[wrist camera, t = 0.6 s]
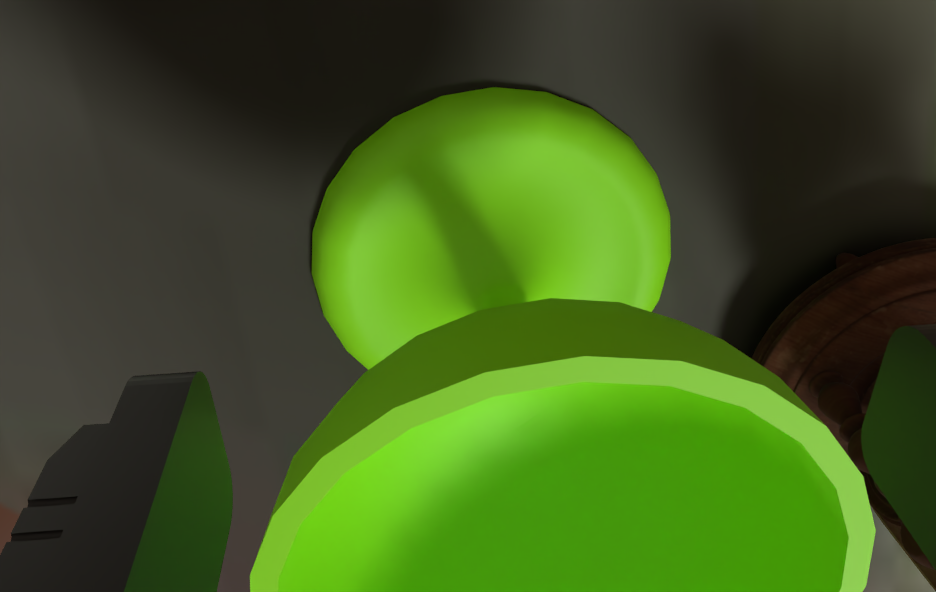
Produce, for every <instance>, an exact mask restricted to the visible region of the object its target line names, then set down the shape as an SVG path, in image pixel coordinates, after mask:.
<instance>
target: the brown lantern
mask: <svg viewBox="0 0 936 592" xmlns="http://www.w3.org/2000/svg"><path fill="white" fill-rule="evenodd" d="M836 268H837V269H835V270H834V271H832V272H830V273H829V274H827V275H826V276H824V277H822V278H821V279H820V280H818V281H817V282H815V283H814V284H813V285H811V286H810V287H809V288H807V289H806V290H805V291H804V292H803V293H801V294H800V295H799V296H798V297H797V298H796V299H794V300H793V301H792V302H791V303H790V304H789V305H788V306H787V307H786V308H785V309H784V310H783V312H782V313H781V314H780V315H779V316H778V317H777V319H776V320H775V321H774V322H773V323H772V325H771V326H770V327H769V329H768V330H767V332H766V333H765V334H764V336H763V338H762V339H761V341H760V343H759V344H758V346H757V348H756V350H755V352H754V354H753V356H752V358H751V359H753V360H754V361H756V362H757V363H759V364H760V365H762V366H763V367H765V368H766V369H768V370H769V371H771V372H772V373H774V374H775V375H777V376H778V377H780V378H781V379H782V380H783V381H784V383H785V384H786V385H787V386H788V387H789V388H790V389H791V390H792V391H793V392H794V393H795V394H796V395H797V396H798V397H799V398H800V399H801V400H802V401H803V402H804V403H805V404H806V405H807V406H808V408H809V409H810V410H811V411H812V412H813V413H814V414H815V415H816V416H817V417H818V418H819V419H820V420H821V421H822V422H823V423H824V424H825V425H826V426H827V428H828V429H829V430H830V432H831V433H832V435H833V436H834V437H835V439H836V440H837V441H838V443H839V444H840V445H841V447H842V448H843V449H844V451H845V452H846V454H847V455H848V456H849V458H850V459H851V460H852V462H853V463H854V464H855V466H856V467H857V468H858V470H859V471H860V473H861V474H862V475H863V477H864V482H865V486H866V490H867V495H868V499H869V503H870V505H871V506H872V508H873V510H874V511H875V513H876V514H877V516H878V517H879V518H880V520H881V521H882V523H883V524H884V525H885V527H886V528H887V529H888V530H889V532H890V533H891V534H892V536H893V537H894V538H895V540H896V541H897V542H898V543H899V545H900V546H901V547H902V549H903V550H904V551H905V553H906V554H907V555H908V556H909V558H910V559H911V560H912V562H913V563H914V564H915V565H916V567H917V568H918V569H919V571H920V572H921V573H922V575H923V576H924V577H925V578H926V580H927V581H928V582H929V583H930V585H931V586H932V587H933V588H934V590H935V591H936V570H935V569H934V567H933V566H932V564H931V563H930V561H929V560H928V558H927V557H926V556H925V554H924V553H923V551H922V550H921V548H920V547H919V545H918V544H917V542H916V541H915V539H914V538H913V537H912V535H911V534H910V532H909V531H908V529H907V528H906V526H905V525H904V523H903V522H902V520H901V519H900V518H899V516H898V515H897V513H896V512H895V510H894V509H893V507H892V506H891V504H890V503H889V501H888V500H887V499H886V497H885V496H884V494H883V493H882V491H881V490H880V488H879V487H878V485H877V484H876V482H875V481H874V480H873V478H872V476H871V475H870V473H869V470H868V468H867V466H866V463H865V460H864V456H863V451H862V443H861V433H862V426H863V422H864V418H865V415H866V412H867V409H868V406H869V402H870V399H871V396H872V393H873V389H874V386H875V383H876V380H877V377H878V373H879V370H880V367H881V364H882V360H883V357H884V354H885V351H886V348H887V344H888V342H889V339H890V337H891V336H892V334H893V333H894V332H895V331H896V330H897V329H898V328H900V327H903V326H912V325H927V324H936V238H928V239H919V240H913V241H908V242H903V243H899V244H895V245H892V246H888V247H884V248H881V249H879V250H876V251H873V252H870V253H868V254H865V255H863V256H861V257H857V256H855V255H853V254H849V253H840V254H839V255H837V257H836Z"/></svg>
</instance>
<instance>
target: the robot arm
mask: <svg viewBox="0 0 936 592" xmlns="http://www.w3.org/2000/svg"><path fill="white" fill-rule="evenodd" d="M861 443H862V451H863V456H864V460H865V463H866V466H867V468H868V470H869V473H870V475H871V476H872V478H873V480H874V481H875V482H876V484H877V485H878V487H879V488H880V490H881V491H882V493H883V494H884V496H885V497H886V499H887V500H888V501H889V503H890V504H891V506H892V507H893V509H894V510H895V512H896V513H897V515H898V516H899V518H900V519H901V520H902V522H903V523H904V525H905V526H906V528H907V529H908V531H909V532H910V534H911V535H912V537H913V538H914V539H915V541H916V542H917V544H918V545H919V547H920V548H921V550H922V551H923V553H924V554H925V556H926V557H927V558H928V560H929V561H930V563H931V564H932V566H933V567H934V569H935V570H936V324H927V325H912V326H903V327H900V328H898V329H897V330H896V331H895V332H894V333H893V334H892V336H891V337H890V339H889V342H888V344H887V348H886V351H885V354H884V357H883V360H882V364H881V367H880V370H879V373H878V377H877V380H876V383H875V386H874V389H873V393H872V396H871V399H870V402H869V406H868V409H867V412H866V415H865V418H864V422H863V426H862V433H861ZM232 504H233V493H232V479H231V472H230V468H229V463H228V459H227V455H226V451H225V447H224V443H223V439H222V435H221V431H220V427H219V423H218V419H217V415H216V411H215V407H214V403H213V399H212V395H211V391H210V387H209V383H208V381H207V378H206V377H205V375H204V374H203V373H202V372H186V373H171V374H156V375H142V376H133V377H131V378H130V379H129V381H128V382H127V384H126V386H125V388H124V390H123V393H122V395H121V397H120V400H119V402H118V404H117V407H116V409H115V411H114V414H113V416H112V418H111V421H110V423H109V424H94V425H83V426H82V427H81V428H80V429H79V430H78V431H77V432H76V433H75V434H74V435H73V436H72V437H71V438H70V439H69V440H68V441H67V442H66V443H65V444H64V445H63V446H62V447H61V448H60V449H59V450H58V451H56V452H55V453H54V454H53V455H52V456H51V457H50V458H49V459H48V460H47V462H46V464H45V466H44V468H43V470H42V472H41V474H40V476H39V478H38V480H37V482H36V484H35V486H34V488H33V490H32V492H31V494H30V496H29V498H28V507H27V508H23V510H22V512H21V514H20V516H19V518H18V520H17V522H16V525H15V527H14V528H13V530H12V533H11V536H12V538H11V542H7V543H6V545H5V547H4V549H3V551H2V553H1V555H0V592H216V591H217V587H218V582H219V577H220V572H221V568H222V563H223V558H224V554H225V549H226V544H227V539H228V535H229V530H230V525H231V518H232Z"/></svg>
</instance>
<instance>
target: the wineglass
mask: <svg viewBox="0 0 936 592" xmlns="http://www.w3.org/2000/svg"><path fill="white" fill-rule="evenodd" d="M670 259H671V243H670V213H669V210H668V207H667V204H666V201H665V198H664V195H663V192H662V189H661V186H660V183H659V180H658V177H657V174H656V172H655V171H654V170H653V168H652V167H651V165H650V164H649V163H648V161H647V160H646V159H645V157H644V156H643V154H642V153H641V152H640V150H639V149H638V147H637V146H636V145H635V143H634V142H633V141H632V139H631V138H630V137H629V136H627V135H626V134H625V133H623V132H622V131H621V130H619V129H618V128H617V127H615V126H614V125H613V124H611V123H610V122H609V121H607V120H606V119H605V118H603V117H602V116H601V115H599V114H598V113H597V112H595V111H594V110H593V109H590V108H587V107H585V106H582V105H579V104H577V103H574V102H571V101H569V100H566V99H564V98H561V97H558V96H556V95H553V94H550V93H548V92H542V91H531V90H520V89H509V88H499V87H491V88H485V89H479V90H473V91H467V92H462V93H456V94H450V95H444V96H440V97H438V98H436V99H433V100H431V101H429V102H427V103H424V104H422V105H420V106H418V107H416V108H413V109H411V110H409V111H407V112H404V113H402V114H400V115H398V116H396V117H393V118H392V119H391V120H390V121H388V122H387V123H386V124H385V125H384V126H382V127H381V128H380V129H379V130H377V131H376V132H375V133H374V134H373V135H371V136H370V137H369V138H368V139H366V140H365V141H364V142H363V143H362V144H360V145H359V146H358V147H357V148H355V149H354V150H353V152H352V153H351V155H350V156H349V158H348V159H347V160H346V162H345V163H344V165H343V166H342V168H341V169H340V170H339V172H338V173H337V175H336V176H335V178H334V179H333V180H332V182H331V183H330V185H329V186H328V188H327V189H326V192H325V195H324V198H323V201H322V204H321V207H320V210H319V213H318V216H317V219H316V222H315V225H314V228H313V233H312V277H313V280H314V284H315V287H316V291H317V294H318V298H319V301H320V305H321V308H322V311H323V315H324V316H325V318H326V319H327V321H328V323H329V324H330V326H331V327H332V329H333V330H334V332H335V333H336V335H337V337H338V338H339V340H340V341H341V343H342V344H343V346H344V348H345V349H346V350H347V351H348V352H349V353H350V354H351V355H352V356H353V357H354V358H355V359H357V360H358V361H359V362H360V363H361V364H362V365H363V366H364V367H366V368H367V369H368V371H366V372H365V373H364V374H363V375H362V376H361V377H360V378H359V379H358V381H357V382H356V383H355V384H354V385H353V386H352V387H351V388H350V389H349V391H348V392H347V393H346V394H345V395H344V396H343V397H342V398H341V399H340V401H339V402H338V403H337V404H336V405H335V406H334V408H333V409H332V410H331V411H330V412H329V414H328V415H327V416H326V417H325V419H324V420H323V421H322V422H321V424H320V425H319V426H318V427H317V428H316V430H315V431H314V432H313V433H312V435H311V436H310V437H309V438H308V439H307V441H306V442H305V443H304V444H303V446H302V447H301V448H300V449H299V450H298V452H297V453H296V454H295V455H294V457H293V459H292V461H291V464H290V467H289V469H288V472H287V475H286V477H285V480H284V483H283V485H282V488H281V491H280V493H279V496H278V498H277V501H276V504H275V506H274V509H273V512H272V515H271V517H270V520H269V523H268V526H267V529H266V532H265V534H264V537H263V540H262V543H261V546H260V549H259V551H258V554H257V557H256V560H255V563H254V566H253V568H252V571H251V574H250V592H863V590H864V588H865V587H866V584H867V578H868V572H869V567H870V561H871V555H872V549H873V544H874V538H875V532H876V530H875V526H874V521H873V517H872V512H871V508H870V504H869V499H868V495H867V490H866V486H865V482H864V477H863V475H862V474H861V473H860V471H859V470H858V468H857V467H856V466H855V464H854V463H853V462H852V460H851V459H850V458H849V456H848V455H847V454H846V452H845V451H844V449H843V448H842V447H841V445H840V444H839V443H838V441H837V440H836V439H835V437H834V436H833V435H832V433H831V432H830V430H829V429H828V428H827V426H826V425H825V424H824V423H823V422H822V421H821V420H820V419H819V418H818V417H817V416H816V415H815V414H814V413H813V412H812V411H811V410H810V409H809V408H808V406H807V405H806V404H805V403H804V402H803V401H802V400H801V399H800V398H799V397H798V396H797V395H796V394H795V393H794V392H793V391H792V390H791V389H790V388H789V387H788V386H787V385H786V384H785V383H784V381H783V380H782V379H781V378H780V377H778V376H777V375H775V374H774V373H772V372H771V371H769V370H768V369H766V368H765V367H763V366H762V365H760V364H759V363H757V362H756V361H754V360H753V359H751V358H750V357H748V356H747V355H745V354H744V353H742V352H741V351H739V350H738V349H736V348H735V347H733V346H732V345H730V344H729V343H727V342H726V341H724V340H722V339H720V338H717V337H715V336H713V335H711V334H708V333H706V332H704V331H701V330H699V329H697V328H695V327H692V326H690V325H688V324H686V323H683V322H681V321H678V320H675V319H672V318H669V317H665V316H662V315H659V314H656V313H653V312H652V311H653V309H654V307H655V306H656V304H657V302H658V300H659V298H660V295H661V291H662V288H663V284H664V281H665V277H666V273H667V270H668V266H669V263H670Z"/></svg>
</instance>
